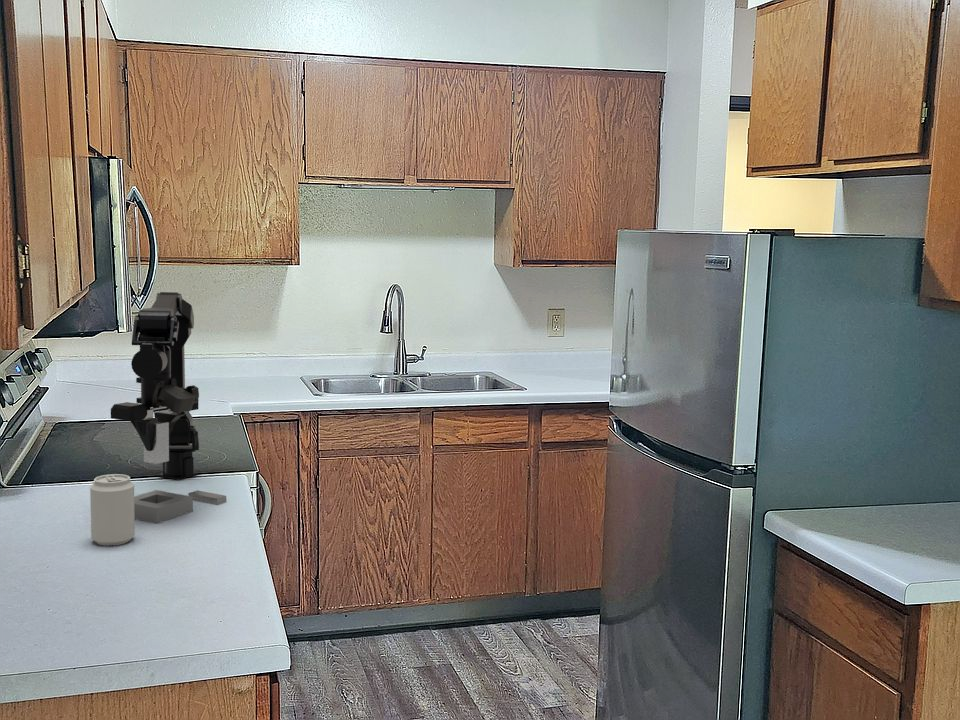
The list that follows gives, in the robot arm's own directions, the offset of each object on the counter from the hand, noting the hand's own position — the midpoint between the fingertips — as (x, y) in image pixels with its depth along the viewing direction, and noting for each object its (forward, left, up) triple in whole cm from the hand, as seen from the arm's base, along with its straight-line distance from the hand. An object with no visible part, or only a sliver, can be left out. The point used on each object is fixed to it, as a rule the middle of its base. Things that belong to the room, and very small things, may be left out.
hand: (156, 449), depth 194 cm
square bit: (0, 0, -3) cm, 2 cm away
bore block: (+1, -1, -13) cm, 13 cm away
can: (+7, -18, -13) cm, 23 cm away
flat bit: (+3, +12, -14) cm, 18 cm away
